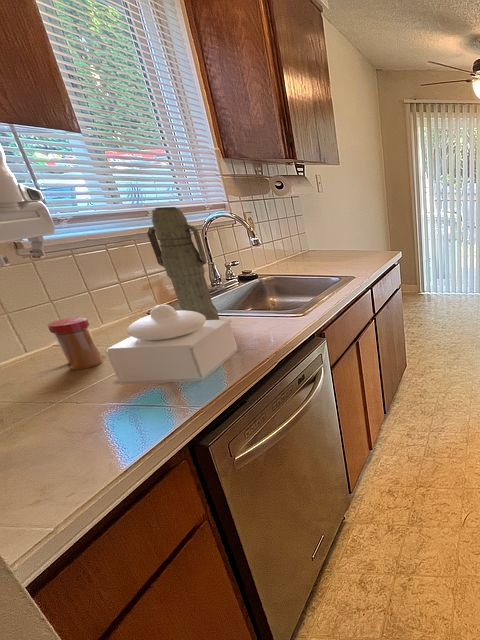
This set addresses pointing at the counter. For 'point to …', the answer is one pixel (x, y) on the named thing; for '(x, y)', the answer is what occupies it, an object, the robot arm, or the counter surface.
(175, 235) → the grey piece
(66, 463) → the counter surface
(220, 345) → the butter dish
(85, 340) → the jar
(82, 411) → the counter surface
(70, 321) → the lid
